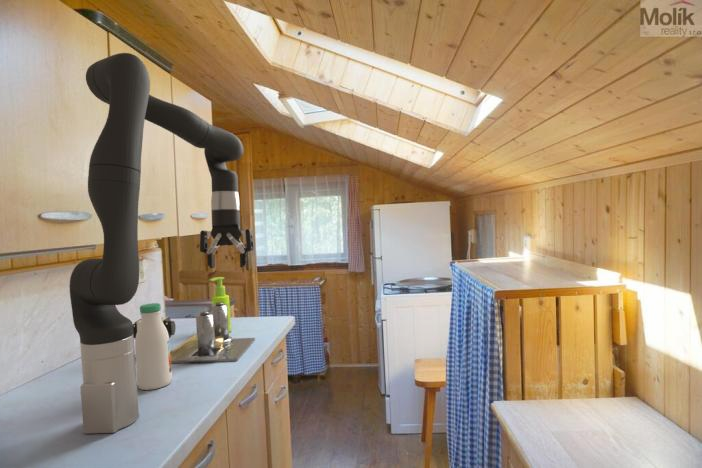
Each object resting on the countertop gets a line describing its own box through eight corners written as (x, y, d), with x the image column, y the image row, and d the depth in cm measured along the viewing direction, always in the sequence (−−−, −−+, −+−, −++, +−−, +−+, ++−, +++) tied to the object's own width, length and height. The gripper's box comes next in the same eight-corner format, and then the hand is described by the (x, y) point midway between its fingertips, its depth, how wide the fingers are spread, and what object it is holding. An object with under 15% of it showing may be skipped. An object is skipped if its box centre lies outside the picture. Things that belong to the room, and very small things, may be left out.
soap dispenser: (208, 334, 147) (204, 278, 146) (224, 329, 153) (221, 275, 152) (218, 336, 144) (215, 279, 143) (234, 331, 149) (231, 276, 149)
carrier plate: (236, 361, 116) (233, 314, 116) (166, 364, 117) (163, 316, 116) (255, 340, 137) (252, 299, 136) (195, 342, 137) (193, 302, 137)
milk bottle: (167, 389, 99) (162, 306, 98) (133, 392, 98) (127, 309, 97) (175, 377, 107) (170, 300, 106) (143, 380, 106) (138, 302, 105)
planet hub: (212, 357, 118) (209, 313, 118) (195, 358, 118) (192, 314, 118) (218, 352, 123) (215, 309, 123) (202, 353, 123) (199, 310, 123)
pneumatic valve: (172, 355, 125) (170, 316, 124) (131, 358, 123) (129, 319, 123) (178, 349, 130) (175, 312, 130) (139, 353, 129) (136, 314, 128)
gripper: (194, 208, 110) (196, 269, 110) (247, 207, 110) (249, 268, 110) (205, 210, 118) (207, 267, 118) (255, 208, 117) (256, 265, 117)
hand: (227, 267), depth 114 cm, fingers open, 8 cm apart
